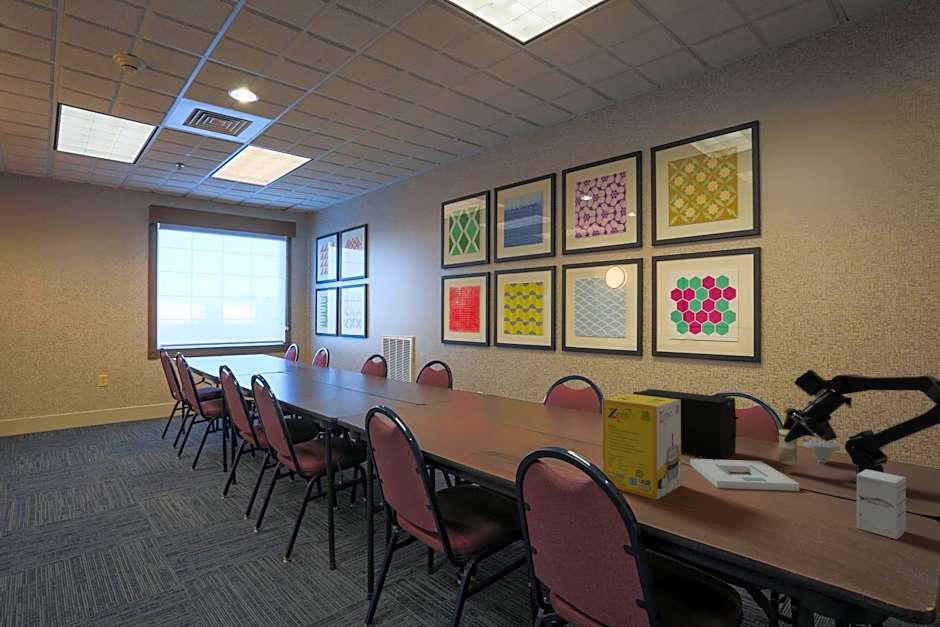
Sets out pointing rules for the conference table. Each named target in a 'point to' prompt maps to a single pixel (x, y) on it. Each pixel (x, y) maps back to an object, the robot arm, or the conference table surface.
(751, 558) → the conference table surface
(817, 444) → the showerhead
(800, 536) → the conference table surface
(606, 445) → the packaging box
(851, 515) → the conference table surface
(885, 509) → the supplement box
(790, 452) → the beech peg
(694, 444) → the uninterruptible power supply
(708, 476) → the hole plate
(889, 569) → the conference table surface
